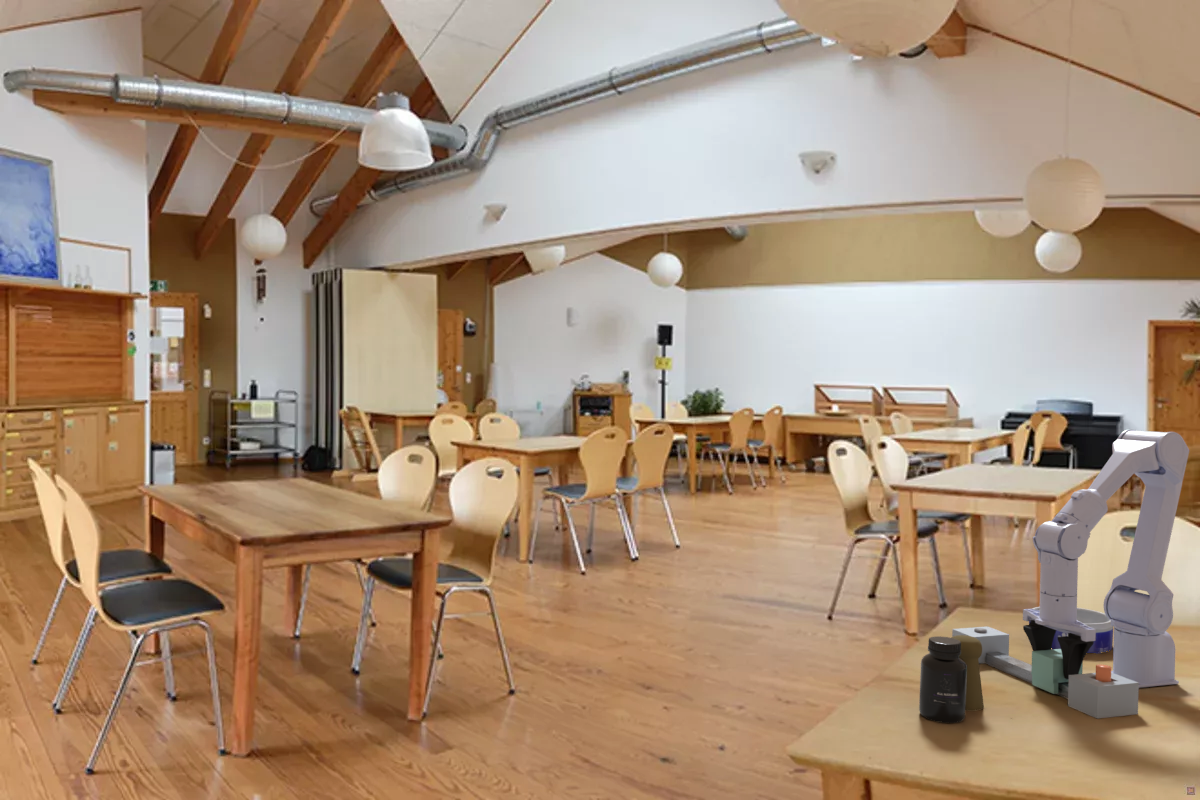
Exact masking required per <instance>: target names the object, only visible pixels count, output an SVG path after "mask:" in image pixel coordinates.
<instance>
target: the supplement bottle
mask: <svg viewBox="0 0 1200 800" xmlns="http://www.w3.org/2000/svg"><path fill="white" fill-rule="evenodd" d="M927 644H928V645H927V651H928V652H929V653H927V654H924V655H923V657H922V658H921V661H920V675H919V676H920V677H919V704H918V705H919V707H918V709H919V710H918V711H919V713H920V715H921V716H922V717H923V718H925V719H928V720H929V721H933V722H938V723H945V724H956V723H961V722H963V721H964V720H965V718H966V711H967V710H966V685H967V665H966V663H965V661H964V660H963V659H962V658H960V657H959V655H961V642H960V641H959V640H957V639H954V638H951V637H948V636H942V635H941V636H931V637H929V638H928V643H927Z"/></svg>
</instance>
